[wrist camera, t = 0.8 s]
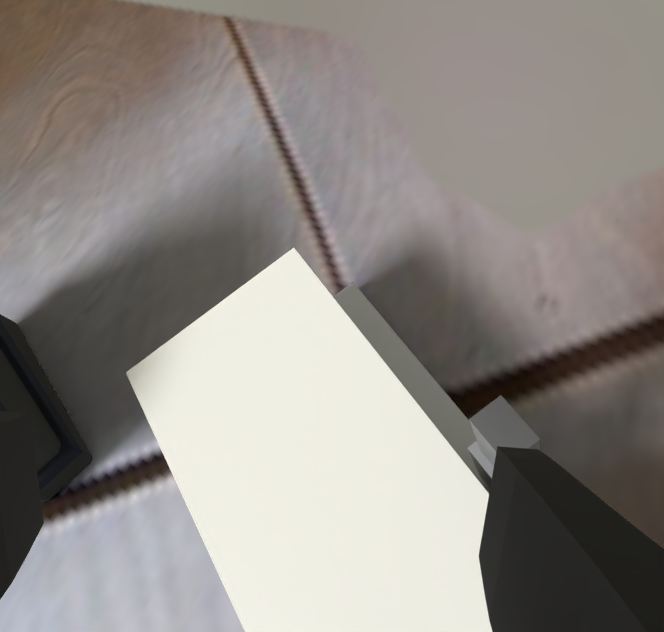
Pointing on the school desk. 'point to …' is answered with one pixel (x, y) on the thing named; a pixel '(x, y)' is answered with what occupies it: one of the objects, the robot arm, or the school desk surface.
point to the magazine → (39, 412)
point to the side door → (498, 435)
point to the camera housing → (320, 462)
